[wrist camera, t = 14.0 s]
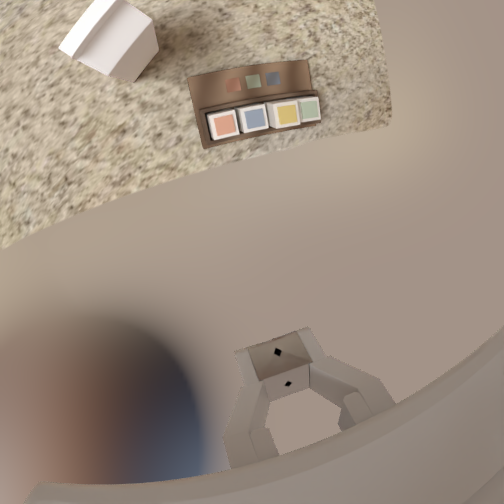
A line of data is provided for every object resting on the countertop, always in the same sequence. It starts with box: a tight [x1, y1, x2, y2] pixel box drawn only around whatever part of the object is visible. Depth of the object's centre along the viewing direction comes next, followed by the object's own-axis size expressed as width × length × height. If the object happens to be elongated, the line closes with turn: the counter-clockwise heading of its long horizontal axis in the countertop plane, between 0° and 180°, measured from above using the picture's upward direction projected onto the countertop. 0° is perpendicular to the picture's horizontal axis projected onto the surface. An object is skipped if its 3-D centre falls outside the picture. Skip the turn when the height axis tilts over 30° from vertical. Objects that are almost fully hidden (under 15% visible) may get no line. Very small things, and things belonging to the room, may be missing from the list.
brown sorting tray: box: [187, 60, 321, 149], centre depth 38 cm, size 18×11×4 cm, turn 100°
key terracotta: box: [206, 108, 239, 140], centre depth 37 cm, size 3×3×4 cm
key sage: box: [286, 96, 321, 123], centre depth 38 cm, size 3×3×4 cm
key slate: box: [234, 103, 269, 133], centre depth 37 cm, size 3×3×4 cm
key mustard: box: [264, 99, 300, 129], centre depth 36 cm, size 3×3×4 cm
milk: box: [59, 0, 159, 83], centre depth 22 cm, size 6×6×22 cm
